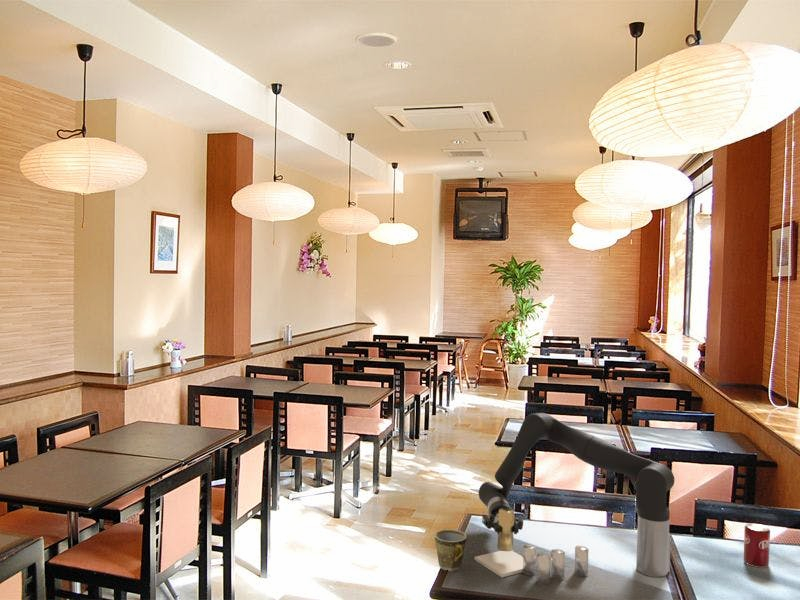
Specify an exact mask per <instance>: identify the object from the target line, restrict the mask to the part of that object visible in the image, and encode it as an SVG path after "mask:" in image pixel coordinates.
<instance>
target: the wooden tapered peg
mask: <svg viewBox="0 0 800 600" xmlns="http://www.w3.org/2000/svg"><path fill="white" fill-rule="evenodd" d="M514 516H515V510H513V509H508V508H502V509H499V522H498V524H499V526H500V534H497V549H498V550H499V551H514Z"/></svg>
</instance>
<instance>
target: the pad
mask: <svg viewBox="0 0 800 600" xmlns="http://www.w3.org/2000/svg"><path fill="white" fill-rule="evenodd" d="M475 560H476V561H475ZM474 561H475V562H477V563H478V564H480V565H481V566H484V567H485V568H486V569H488V570H490V571H491V572H493V573H494V574H495V575H497V576H499V577H500V578H505V577H509V576H513V575H516V574H521V573H523V555H520V553H517V552H515V551H514V550H512V551H501V550H499V551H494V552H489V553H485V554H481V555H477V556H474ZM536 569H537V564H536Z"/></svg>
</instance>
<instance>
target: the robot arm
mask: <svg viewBox="0 0 800 600" xmlns="http://www.w3.org/2000/svg"><path fill="white" fill-rule="evenodd" d="M540 440H547V441H550V442H552V443H555V444H557V445H559V446H562V447H563V448H565V449H567V450H568V451H569V452H570V453H571V454H572V455H573V456H574V457H576V458H577V459H579V460H581V461H582V462H584V463H586V464H588V465H591V466H593V467H595V468H597V469H600V470H603V471H609V472H613V473H617V474H618V473H619V474H624V475H626V476H629V477H631V478H633V479H635V480H636V481H635V503H636V504H635V505H636V508H637V530H636V531H637V533H636V535H637V538H636V541H637V542H636V561H635V562H636V567H635V568H636V570H637V572H638V573H641V574H643V575H645V576H649V577H653V578H654V577H656V578H660V577H661V578H662V577H666V576H668V574H669V572H670V571H671V570H670V569H671V543H672V542H671V541H670V515H671V511H670V509H669V508H668V506H667V492H669V491H670V490H672V488H673V487H674V485H675V475H674V473H673V471H672V470H671V469H670V468H668V466H666V465H665V464H663V463H660V462H657V461H654V460H651V459H648V458H645V457H642V456H639V455H636V454H635V453H631V452H629V451H628V450H625V449H624V448H621V447H619V446H617V445H615V444H612V443H611V442H608V441H607V440H604V439H602V438H600V437H598V436H595V435H593V434H591V433H587V432H585V431H582V430H580V429H578V428H575V427H572V426H570V425H567V424H566V423H563V422H562V421H561V420H558V419H557V418H556V417H554V416H552V415H550V414H549V413H545V412H535V413H534V412H533V413H530V414H528V415H527V416H525V418H524V420H523V422H522V424H521V426H520V428H519V431H518V434H517V436H516V438H515V440H514V442H513V444H512V446H511V448H510V450H509V451H508V453H507V455H506V456H505V458H504V460H503V461H502V462H501V464H500V466H499V467H498V469H497V470H496V472H495V474H494V479H495V481H496V482H497V483H498V484H499V485H501V486H502V487H500V486H498V485H496V484H495V483H493V482H490V481H485V482H483V483H482V484H481V485H480V486H479V489H478V497H479V500H480V501H481V502H482V503H483V504H484V506H486V507H487V513H488V515H486V514H482V517H481V522H482V525H484V526H485V527H486V528H487V529H488V530H490V529H491V530H494V532H495V533H496V534H497V535H498V534H500V526H499V524H498V522H499V509H502V508H508V509H511V506H510V505H509V502H508V499H509V494H510V493H511V492H510V491H511V489H512V486H513V484H514V483H515V481H516V480H517V478H518V477H519V475H520V473H521V472H522V470H523V467H524V465H525V462H526V458H527V456H528V453H529V452H530V450H531V449H532V448H533V447H534V445H535V444H536V443H537V442H538V441H540ZM523 527H524V516H523V515H519V516H518V517H516V516H515V515H514V533H513V535H517V534H518V533H519V532H520V531H521V530H523Z"/></svg>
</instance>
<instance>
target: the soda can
mask: <svg viewBox="0 0 800 600" xmlns="http://www.w3.org/2000/svg"><path fill="white" fill-rule="evenodd" d="M743 534H744V536H743V539H744V540H743V561H744V563H745V562H746V563H748V564H750V565H753V566H757V567H756V568H758V567H765V568H767V567H768V566H769V565H770V545H771V530H770V528H769V527H768V526H766V525H763V524H761V523H760V524H759V523H751V522H749V523H747V524H745V525H744V533H743ZM746 563H745V564H746ZM748 564H747V565H748ZM750 565H749V566H750ZM753 566H752V567H753Z"/></svg>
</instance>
